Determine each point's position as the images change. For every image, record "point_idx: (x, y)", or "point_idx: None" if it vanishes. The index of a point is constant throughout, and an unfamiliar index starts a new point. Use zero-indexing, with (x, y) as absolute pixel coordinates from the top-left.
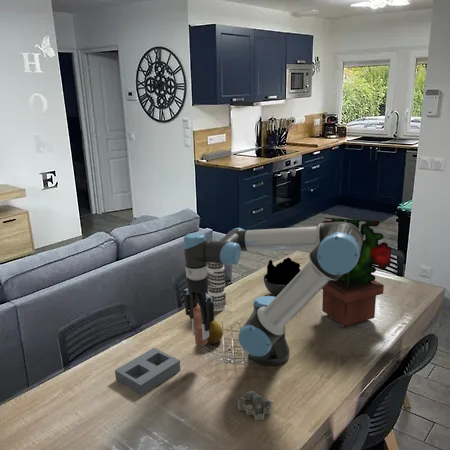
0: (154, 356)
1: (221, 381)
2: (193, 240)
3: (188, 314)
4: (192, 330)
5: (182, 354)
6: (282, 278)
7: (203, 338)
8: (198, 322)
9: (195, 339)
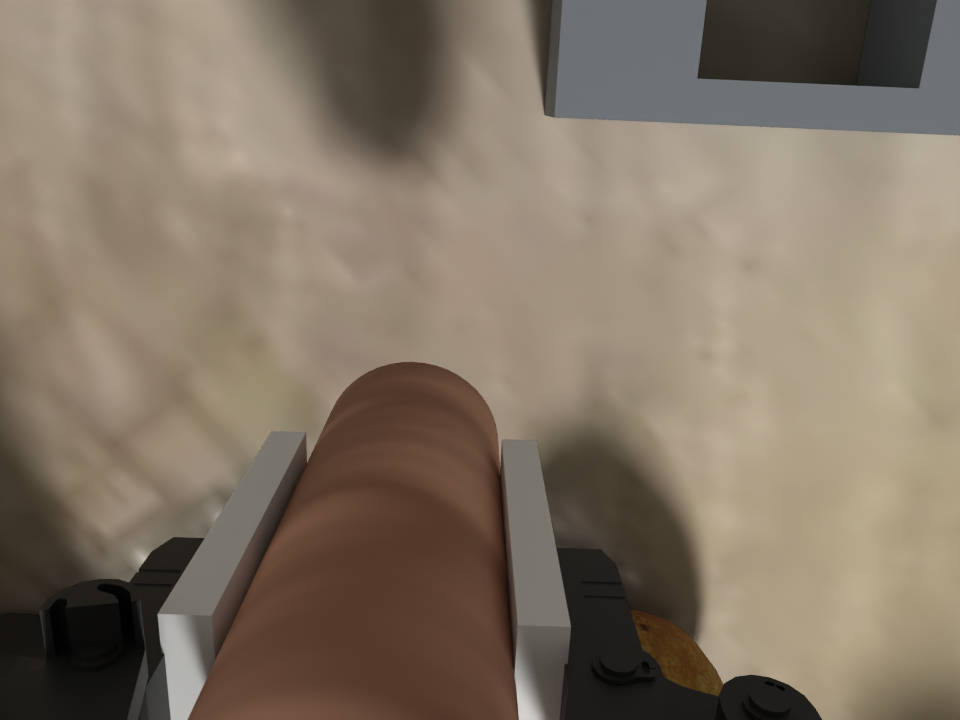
0: (922, 10)
1: (69, 214)
2: None
3: (716, 711)
4: (539, 478)
5: (713, 345)
6: None
7: (285, 439)
8: (281, 588)
9: (448, 395)
